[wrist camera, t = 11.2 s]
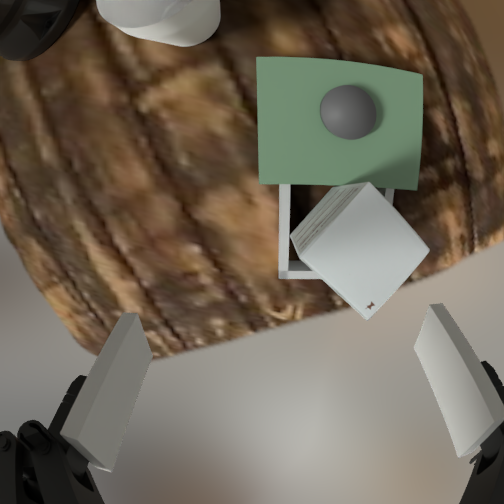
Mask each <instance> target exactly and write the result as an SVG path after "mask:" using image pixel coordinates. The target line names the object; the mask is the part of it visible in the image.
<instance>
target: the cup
mask: <svg viewBox="0 0 504 504" xmlns="http://www.w3.org/2000/svg"><path fill="white" fill-rule="evenodd" d="M96 3H97V8H98V11H99V13H100V14H101V16H102V17H103V18H104V19H105V20H106V21H107V22H109V23H111V24H112V25H114V26H116V27H117V28H119V29H120V30H122V31H123V32H125V33H126V34H129V35H131V36H134V37H138V38H142V39H148V40H153V41H158V42H162V43H167V44H172V45H176V46H182V47H187V46H193V45H197V44H199V43H202V42H203V41H205V40H207V39H208V38H209V37H210V36H212V34H213V33H214V32H215V31H216V29H217V28H218V26H219V23H220V17H221V16H220V0H96Z"/></svg>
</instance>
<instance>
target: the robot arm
mask: <svg viewBox="0 0 504 504" xmlns="http://www.w3.org/2000/svg"><path fill="white" fill-rule="evenodd" d="M78 2H79V0H0V56H2V57H3V58H5V59H8V60H13V61H26V60H30V59H32V58H35V57H36V56H38V55H40V54H41V53H43V52H44V51H45V50H46V49H48V48H49V47H50V46H51V45H52V44H53V43H54V42H55V41H56V39H57V38H58V37H59V36H60V35H61V33H62V32H63V31H64V29H65V28H66V26H67V25H68V23H69V21H70V20H71V18H72V16H73V14H74V12H75V10H76V7H77V5H78ZM414 349H415V351H416V354H417V355H418V358H419V360H420V362H421V364H422V367H423V369H424V371H425V373H426V375H427V378H428V380H429V382H430V384H431V387H432V389H433V392H434V394H435V397H436V399H437V402H438V404H439V406H440V409H441V411H442V414H443V417H444V419H445V422H446V425H447V427H448V430H449V432H450V435H451V438H452V441H453V444H454V446H455V449H456V453H457V456H458V458H460V457H462V456H465V455H467V454H470V453H472V452H473V451H474V450H475V449H477V448H478V447H479V446H481V449H482V450H481V451H480V452H479V453H478V454H477V455H476V456H474V457H473V458H472V459H471V461H470V464H471V463H472V462H474V461H475V460H476V459H477V460H476V463H475V464H474V465H475V466H474V469H473V472H472V474H471V477H470V480H469V482H468V485H467V487H466V489H465V492H464V494H463V496H462V499H461V501H460V503H459V504H504V386H502V385H503V384H502V382H501V380H500V379H499V378H498V375H497V373H496V372H495V370H494V368H493V367H492V366H491V365H490V364H488V363H487V362H486V361H483V362H480V361H479V359H478V357H477V356H476V354H475V352H474V351H473V349H472V347H471V346H470V344H469V343H468V341H467V339H466V338H465V336H464V335H463V333H462V332H461V330H460V329H459V327H458V326H457V324H456V323H455V321H454V320H453V318H452V317H451V315H450V314H449V312H448V311H447V309H446V308H445V306H444V305H443V304H442V303H440V304H432V305H429V307H428V311H427V313H426V317H425V319H424V322H423V325H422V328H421V330H420V333H419V336H418V339H417V341H416V343H415V346H414ZM152 357H153V355H152V353H151V350H150V347H149V345H148V342H147V339H146V336H145V334H144V331H143V328H142V325H141V322H140V319H139V316H138V313H122V315H121V317H120V318H119V320H118V322H117V324H116V325H115V327H114V329H113V331H112V332H111V334H110V336H109V338H108V339H107V341H106V343H105V345H104V347H103V348H102V350H101V352H100V354H99V356H98V358H97V359H96V361H95V363H94V365H93V367H92V369H91V371H90V373H89V375H88V376H83V375H80V376H78V377H77V378H76V379H75V380H74V381H73V382H72V383H71V385H70V387H69V389H68V391H67V394H66V395H65V396H64V398H63V400H62V401H63V402H62V403H61V404H60V406H59V408H58V410H57V412H56V414H55V416H54V418H53V420H52V422H51V424H50V426H49V428H48V430H47V429H46V428H45V427H44V426H43V425H42V424H41V423H40V422H39V421H36V420H30V421H27V422H25V423H23V425H22V426H21V427H20V428H19V431H18V433H17V437H16V436H15V435H13V434H12V433H11V432H10V431H2V432H0V504H105V503H104V501H103V499H102V497H101V495H100V493H99V491H98V489H97V487H96V485H95V482H94V480H93V478H92V475H91V473H90V471H89V469H88V468H87V466H88V463H89V462H90V463H91V464H92V465H94V466H95V467H96V468H99V469H102V470H106V471H109V472H112V471H113V468H114V464H115V461H116V458H117V455H118V452H119V449H120V445H121V442H122V439H123V437H124V434H125V431H126V428H127V425H128V422H129V419H130V416H131V413H132V411H133V408H134V405H135V402H136V399H137V397H138V394H139V391H140V388H141V386H142V383H143V380H144V378H145V375H146V372H147V370H148V367H149V364H150V362H151V359H152Z"/></svg>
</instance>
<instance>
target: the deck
mask: <svg viewBox="0 0 504 504" xmlns="http://www.w3.org/2000/svg"><path fill="white" fill-rule="evenodd" d="M256 63H257V105H258V153H259V184H279V259H278V272H279V279H321V278H320V277H319V276H318V275H317V274H316V273H315V272H314V271H313V270H311V269H310V268H309V267H308V266H307V265H306V264H305V263H304V262H303V261H288V260H289V229H290V184H306V185H339V186H343V185H350V184H356V183H364V182H370V183H371V184H372V185H373V186H374V187H378V188H377V190H378V191H379V192H380V193H381V194H382V195H383V196H384V197H385V198H386V199H387V200H388V201H389V202H390V204H391V205H393V196H394V189H405V190H417V187H418V178H419V168H420V157H421V144H422V124H423V75H422V74H418V73H413V72H409V71H404V70H399V69H394V68H389V67H384V66H378V65H372V64H365V63H358V62H350V61H341V60H331V59H319V58H301V57H256Z"/></svg>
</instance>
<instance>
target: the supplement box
mask: <svg viewBox="0 0 504 504" xmlns="http://www.w3.org/2000/svg"><path fill="white" fill-rule="evenodd" d="M290 238H291V240H292V242H293V244H294V247H295V249H296V252H297V254H298V256H299V258H300V259H301V260H302V261H303V262H304V263H305V264H306V265H307V266H308V267H309V268H310V269H311V270H313V271H314V272H315V273H316V274H317V275H318V276H319V277H320V278H321V279H322V280H323V281H325V282H326V283H327V284H328V285H329V286H330V287H331V288H332V289H333V290H334V291H335V292H336V293H337V294H338V295H339V296H341V297H342V298H343V299H344V300H345V301H346V302H347V303H348V304H349V305H351V306H352V307H353V308H354V309H355V310H356V311H357V312H358V313H359V314H360V315H361V316H362V317H363V318H364V319H365V320H367V321H368V320H369V319H370V318H371V317H372V316H373V315H374V314H375V313H376V312H377V310H379V308H380V307H381V306H382V305H383V304H384V303H385V302H386V301H387V300H388V299H389V298H390V297H391V296H392V295H393V293H394V292H395V291H396V290H397V289H398V288H399V287H400V286H401V285H402V283H403V282H404V281H405V280H406V279H407V278H408V277H409V275H410V274H411V273H412V272H413V271H414V270H415V268H416V267H417V266H418V265H419V264H420V262H421V261H422V260H423V259H424V258H425V256H426V255H427V254H428V252H429V248H428V247H427V246H426V244H425V243H424V242H423V240H422V239H421V238H420V237H419V235H418V234H417V233H416V232H415V231H414V230H413V228H412V227H411V226H410V225H409V224H408V223H407V221H406V220H405V219H404V218H403V217H402V216H401V215H400V213H399V212H398V211H397V210H396V209H395V208H394V207H393V206H392V205H391V204H390V202H389V201H388V200H387V199H386V198H385V197H384V196H383V195H382V194H381V193H380V192H379V191H378V190H377V189H376V188H375V187H374V186H373V185H372V184H371V183H370V182H364V183H356V184H350V185H343V186H336V187H332V188H331V189H330V191H329V192H328V193H327V194H326V195H325V196H324V197H323V199H322V200H321V201H320V202H319V203H318V204H317V205H316V206H315V207H314V209H313V210H312V211H311V212H310V213H309V214H308V215H307V216H306V217H305V219H304V220H303V221H302V222H301V223H300V224H299V225H298V226H297V227H296V229H295V230H294V231H293V232H292V233H291V234H290Z"/></svg>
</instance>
